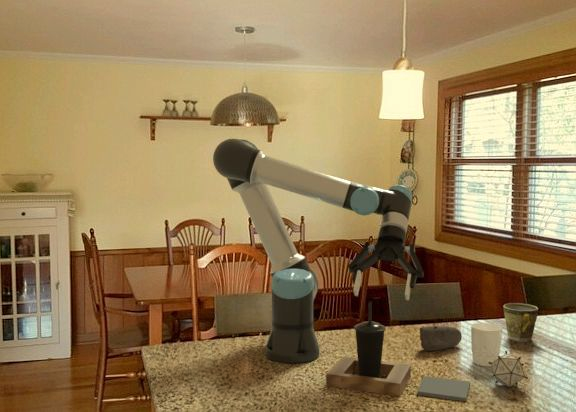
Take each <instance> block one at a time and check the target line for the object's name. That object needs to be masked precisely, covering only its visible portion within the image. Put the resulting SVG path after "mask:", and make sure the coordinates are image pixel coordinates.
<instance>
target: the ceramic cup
mask: <svg viewBox="0 0 576 412" xmlns="http://www.w3.org/2000/svg"><path fill="white" fill-rule="evenodd" d="M538 312H539V308H538V307H537V306H536V305H532V304H529V303H522V302H521V303H519V302H513V303H512V302H510V303H509V302H508V303H505V304H504V305H503V314H504V320H505V327H506V334H507V337H508V339H510V341H515V342H520V343H521V342H522V343H528V342H530V341H532V340H533V337H534V336H533V335H534V331H535V327H536V322H537V319H538V314H539V313H538Z"/></svg>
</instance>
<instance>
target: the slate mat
mask: <svg viewBox="0 0 576 412" xmlns="http://www.w3.org/2000/svg"><path fill="white" fill-rule="evenodd" d="M470 386H471V381H468V380H460V379H451V378H445V377H444V378H443V377H438V376H437V377H435V376H431V375H430V376H428V375H424V376H423V379H422V380H421V383H420V385H419V387H418V389H417V391H416V392H417V393H416V395H417V396H425V397H432V398H438V399H439V398H440V399H447V400H453V401H460V402H461V401H462V402H467V398H468V396H469V392H470V391H469V390H470Z"/></svg>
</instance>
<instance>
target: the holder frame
mask: <svg viewBox="0 0 576 412" xmlns="http://www.w3.org/2000/svg"><path fill="white" fill-rule="evenodd" d="M354 372H356V373H359V367H358V357H350V356H341V357H340V358H339V360H338V361H337V362H335V363H334V365H333V366H331V368H330V369H328V371H327V372H326V373H325V386H327V387H331V386H332V387H333V388H338V387H339V388H338V389H345V388H346V389H347V390H353V391H360V392H366V391H367V392H368V393H375V394H382V395H386V396H387V395H388V396H395V397H401V395H402V393H403V392H404V390H405V388H406V386H407V384H408V382H409V381H410V379H411V377H412V376H411V375H412V364H407V363H398V362H391V361H382V360H381V368H380V376H387V377H386V378H381V377H379V378H374V377H367V376H359V374H354Z"/></svg>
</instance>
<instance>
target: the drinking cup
mask: <svg viewBox="0 0 576 412" xmlns="http://www.w3.org/2000/svg"><path fill="white" fill-rule="evenodd" d="M372 302H373V301H371V300H369V301H368V321H363V322H360V323H358V324H355V325H354V326H353V329H354V330H355V339H356V351H357V353H356V354H357V358H358V367H359V372H358V375H359V376H367V377H374V378H381V377H380V376H381V375H380V368H381V361H382V356H383V350H384V349H383V348H384V347H383V345H384V340H385V339H384V337H385V331H386V326H385V325H383V324H381V323H379V322H376V321H372Z"/></svg>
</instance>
